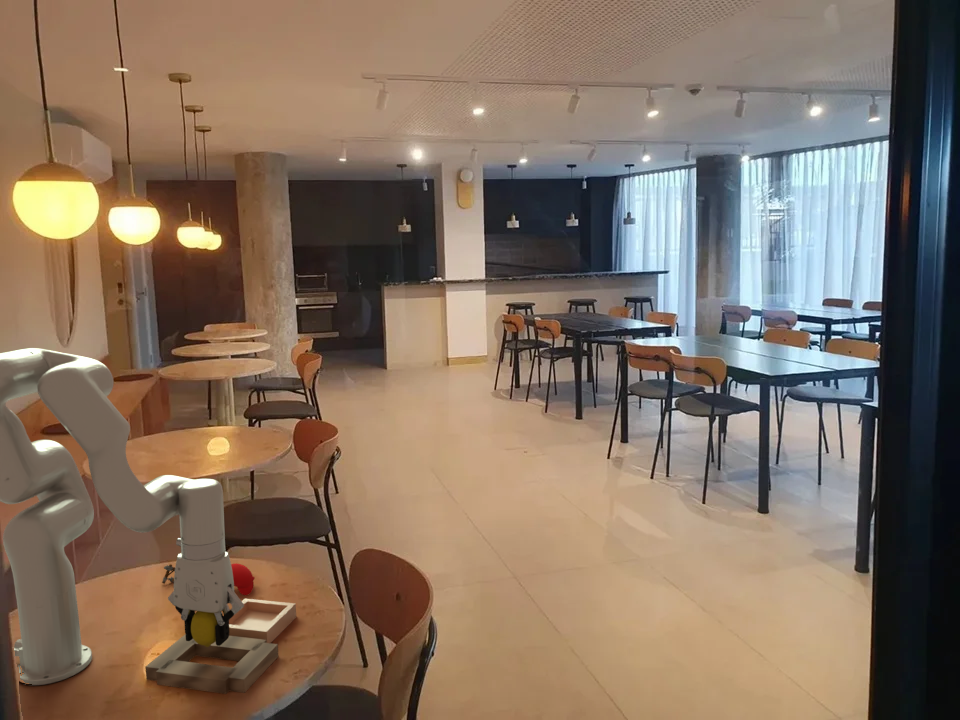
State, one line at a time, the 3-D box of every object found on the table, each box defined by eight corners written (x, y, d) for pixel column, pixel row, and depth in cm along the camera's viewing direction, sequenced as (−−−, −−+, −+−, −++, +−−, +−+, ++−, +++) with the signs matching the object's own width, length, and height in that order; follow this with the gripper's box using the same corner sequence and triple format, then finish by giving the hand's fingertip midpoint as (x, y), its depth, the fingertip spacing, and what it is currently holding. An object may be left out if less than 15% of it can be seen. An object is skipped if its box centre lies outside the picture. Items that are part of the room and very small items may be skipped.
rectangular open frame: (142, 682, 133) (141, 669, 133) (190, 642, 147) (189, 631, 146) (241, 695, 129) (240, 682, 128) (281, 653, 142) (280, 641, 142)
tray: (213, 639, 148) (212, 625, 147) (245, 611, 159) (244, 598, 159) (267, 646, 145) (266, 631, 144) (296, 616, 156) (295, 603, 156)
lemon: (185, 649, 136) (183, 609, 135) (208, 636, 141) (207, 596, 140) (206, 657, 133) (204, 616, 132) (229, 643, 138) (228, 603, 137)
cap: (213, 577, 169) (221, 571, 165) (234, 560, 173) (242, 554, 169) (235, 604, 169) (243, 599, 165) (255, 587, 173) (263, 582, 169)
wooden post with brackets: (157, 581, 173) (164, 562, 174) (190, 585, 178) (196, 566, 179) (159, 583, 172) (166, 565, 172) (192, 587, 177) (199, 569, 177)
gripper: (148, 550, 133) (154, 643, 135) (233, 560, 129) (237, 656, 131) (175, 535, 140) (179, 624, 142) (256, 544, 136) (259, 635, 139)
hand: (207, 638), depth 137 cm, fingers closed on lemon, 5 cm apart
